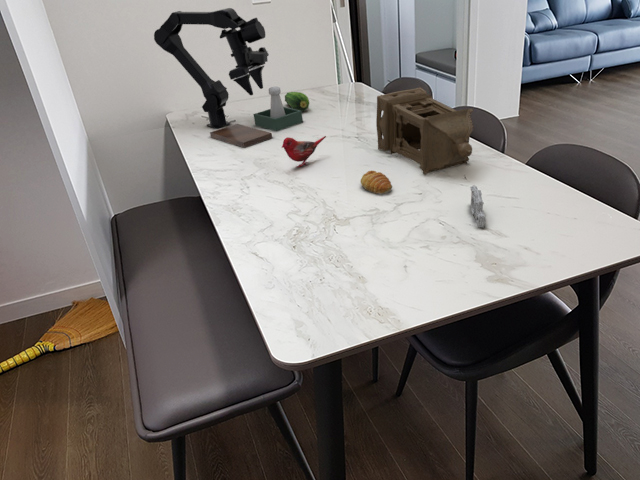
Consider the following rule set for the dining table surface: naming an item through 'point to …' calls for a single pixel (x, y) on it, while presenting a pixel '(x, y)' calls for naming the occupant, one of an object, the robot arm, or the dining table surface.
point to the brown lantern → (423, 129)
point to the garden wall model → (477, 206)
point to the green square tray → (278, 119)
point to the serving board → (241, 135)
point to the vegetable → (297, 100)
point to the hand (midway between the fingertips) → (256, 91)
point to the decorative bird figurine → (299, 149)
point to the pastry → (376, 182)
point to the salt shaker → (276, 103)
